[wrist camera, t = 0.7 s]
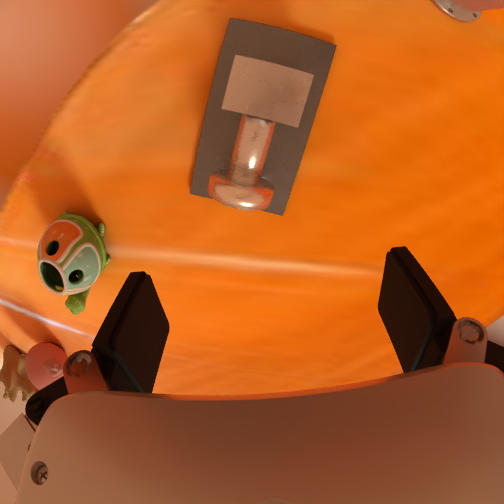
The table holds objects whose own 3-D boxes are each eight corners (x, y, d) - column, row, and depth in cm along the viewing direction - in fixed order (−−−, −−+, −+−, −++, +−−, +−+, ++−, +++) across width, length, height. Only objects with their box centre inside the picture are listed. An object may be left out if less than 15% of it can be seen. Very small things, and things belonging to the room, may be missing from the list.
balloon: (96, 361, 69) (78, 404, 56) (64, 366, 74) (47, 403, 61) (59, 324, 62) (34, 368, 49) (31, 335, 67) (10, 372, 54)
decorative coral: (-14, 346, 56) (10, 420, 53) (39, 337, 75) (61, 406, 71) (-13, 350, 70) (6, 409, 66) (30, 342, 88) (48, 399, 85)
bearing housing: (230, 19, 28) (220, 0, 20) (335, 46, 29) (356, 35, 21) (190, 191, 42) (173, 220, 34) (282, 213, 43) (286, 246, 35)
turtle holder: (69, 279, 53) (42, 317, 43) (55, 202, 43) (16, 235, 33) (118, 292, 54) (95, 335, 44) (110, 211, 44) (74, 249, 34)
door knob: (237, 75, 31) (230, 72, 24) (299, 91, 32) (309, 92, 25) (213, 178, 39) (201, 200, 32) (269, 191, 39) (270, 216, 33)
